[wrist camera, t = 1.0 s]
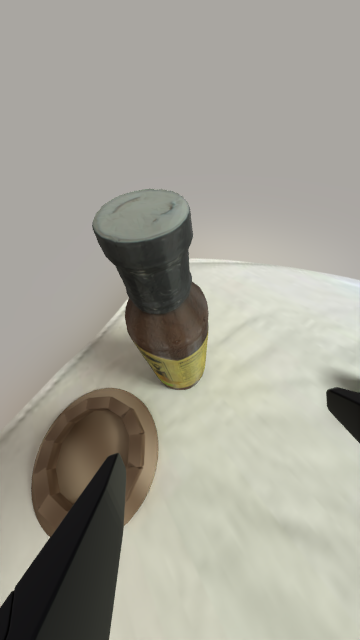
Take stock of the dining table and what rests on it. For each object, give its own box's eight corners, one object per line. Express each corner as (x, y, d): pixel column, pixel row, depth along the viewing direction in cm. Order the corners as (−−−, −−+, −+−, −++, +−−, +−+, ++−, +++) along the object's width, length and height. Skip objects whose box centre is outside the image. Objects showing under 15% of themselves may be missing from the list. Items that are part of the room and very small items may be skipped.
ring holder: (105, 588, 14) (93, 607, 13) (9, 486, 19) (-9, 491, 17) (179, 421, 20) (177, 419, 19) (94, 372, 25) (86, 367, 23)
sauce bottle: (152, 355, 25) (63, 192, 9) (194, 340, 26) (183, 163, 10) (165, 402, 22) (55, 276, 5) (213, 383, 22) (248, 220, 6)
